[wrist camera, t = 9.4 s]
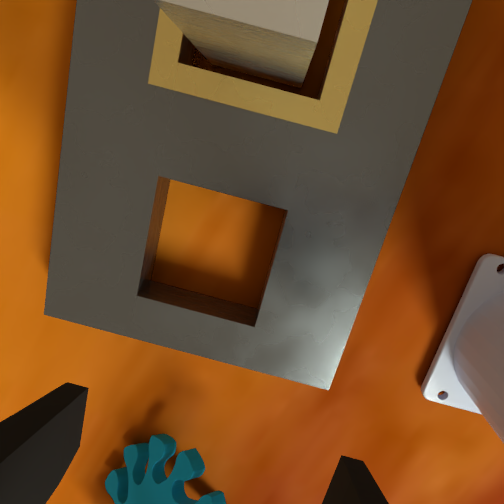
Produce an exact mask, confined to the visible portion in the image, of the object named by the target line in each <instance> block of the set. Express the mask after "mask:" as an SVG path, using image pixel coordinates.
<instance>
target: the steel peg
mask: <svg viewBox="0 0 504 504" xmlns="http://www.w3.org/2000/svg"><path fill="white" fill-rule="evenodd" d="M153 1H154V2H155V3H156V4H157V5H158V6H159V7H160V8H161V9H162V10H163V12H164V13H165V14H166V15H167V16H168V17H169V18H170V19H171V20H172V21H173V23H174V24H175V25H176V26H177V27H178V28H179V29H180V30H181V31H182V33H183V34H184V35H185V36H186V37H187V38H188V39H189V40H190V41H191V42H192V44H193V45H194V46H195V47H196V48H197V49H198V50H199V51H200V52H201V53H202V55H203V56H204V57H205V58H206V59H207V60H208V61H209V62H210V63H211V64H212V65H216V66H220V67H223V68H227V69H231V70H234V71H238V72H242V73H246V74H249V75H253V76H257V77H260V78H264V79H268V80H272V81H275V82H279V83H283V84H287V85H290V86H294V87H298V88H301V86H302V84H303V81H304V78H305V75H306V73H307V70H308V67H309V64H310V62H311V59H312V56H313V53H314V51H315V48H316V45H317V42H318V39H319V35H320V31H321V28H322V24H323V21H324V17H325V13H326V10H327V6H328V2H329V0H153Z"/></svg>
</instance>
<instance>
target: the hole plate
mask: <svg viewBox="0 0 504 504" xmlns="http://www.w3.org/2000/svg"><path fill="white" fill-rule="evenodd" d="M471 3H472V0H345V2H344V5H343V9H342V12H341V16H340V19H339V23H338V26H337V30H336V33H335V37H334V40H333V44H332V47H331V51H330V55H329V58H328V62H327V65H326V69H325V72H324V76H323V79H322V83H321V86H320V90H319V93H318V97H317V99H313V98H309V97H305V96H302V95H298V94H294V93H290V92H287V91H283V90H279V89H275V88H271V87H268V86H264V85H260V84H256V83H253V82H249V81H245V80H241V79H238V78H234V77H230V76H226V75H223V74H219V73H215V72H211V71H208V70H204V69H200V68H196V67H193V66H192V62H193V57H194V51H195V46H194V45H193V44H192V42H191V41H190V40H189V39H188V38H187V37H186V36H185V35H184V34H183V33H182V31H181V30H180V29H179V28H178V27H177V26H176V25H175V24H174V23H173V21H172V20H171V19H170V18H169V17H168V16H167V15H166V14H165V13H164V12H163V10H162V9H161V8H160V7H159V6H158V5H157V4H156V3H155V2H154V1H153V0H77V4H76V13H75V23H74V32H73V42H72V51H71V61H70V70H69V80H68V89H67V99H66V109H65V118H64V128H63V137H62V147H61V156H60V166H59V175H58V185H57V194H56V204H55V213H54V223H53V233H52V242H51V252H50V261H49V271H48V280H47V290H46V299H45V309H44V315H48V316H52V317H55V318H59V319H63V320H67V321H70V322H74V323H78V324H82V325H85V326H89V327H93V328H97V329H100V330H104V331H108V332H112V333H115V334H119V335H123V336H127V337H130V338H134V339H138V340H142V341H146V342H149V343H153V344H157V345H161V346H164V347H168V348H172V349H176V350H179V351H183V352H187V353H191V354H194V355H198V356H202V357H206V358H209V359H213V360H217V361H221V362H224V363H228V364H232V365H236V366H239V367H243V368H247V369H251V370H255V371H258V372H262V373H266V374H270V375H273V376H277V377H281V378H285V379H288V380H292V381H296V382H300V383H303V384H307V385H311V386H315V387H318V388H322V389H326V390H329V388H330V385H331V383H332V380H333V377H334V375H335V372H336V369H337V366H338V364H339V361H340V358H341V356H342V353H343V350H344V347H345V345H346V342H347V339H348V337H349V334H350V331H351V328H352V326H353V323H354V320H355V318H356V315H357V312H358V309H359V307H360V304H361V301H362V299H363V296H364V293H365V290H366V288H367V285H368V282H369V280H370V277H371V274H372V271H373V269H374V266H375V263H376V261H377V258H378V255H379V252H380V250H381V247H382V244H383V241H384V239H385V236H386V233H387V231H388V228H389V225H390V222H391V220H392V217H393V214H394V212H395V209H396V206H397V203H398V201H399V198H400V195H401V193H402V190H403V187H404V184H405V182H406V179H407V176H408V174H409V171H410V168H411V165H412V163H413V160H414V157H415V155H416V152H417V149H418V146H419V144H420V141H421V138H422V136H423V133H424V130H425V127H426V125H427V122H428V119H429V117H430V114H431V111H432V108H433V106H434V103H435V100H436V98H437V95H438V92H439V89H440V87H441V84H442V81H443V79H444V76H445V73H446V70H447V68H448V65H449V62H450V60H451V57H452V54H453V51H454V49H455V46H456V43H457V41H458V38H459V35H460V32H461V30H462V27H463V24H464V22H465V19H466V16H467V13H468V11H469V8H470V5H471ZM170 179H172V180H176V181H180V182H184V183H187V184H191V185H195V186H199V187H202V188H206V189H210V190H214V191H217V192H221V193H225V194H229V195H233V196H236V197H240V198H244V199H248V200H251V201H255V202H259V203H263V204H266V205H270V206H274V207H278V208H281V209H285V213H284V217H283V220H282V224H281V227H280V231H279V235H278V238H277V242H276V245H275V249H274V252H273V256H272V259H271V263H270V266H269V270H268V273H267V277H266V280H265V284H264V287H263V291H262V295H261V298H260V302H259V305H258V309H256V308H252V307H248V306H244V305H241V304H237V303H233V302H229V301H225V300H222V299H218V298H214V297H210V296H207V295H203V294H199V293H195V292H192V291H188V290H184V289H180V288H177V287H173V286H169V285H165V284H162V283H158V282H154V281H151V278H152V273H153V268H154V262H155V257H156V252H157V246H158V241H159V236H160V231H161V225H162V220H163V215H164V210H165V204H166V199H167V194H168V188H169V183H170Z"/></svg>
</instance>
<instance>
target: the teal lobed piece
mask: <svg viewBox="0 0 504 504" xmlns="http://www.w3.org/2000/svg"><path fill="white" fill-rule="evenodd" d="M175 451H176V441H175V440H174V439H173V438H172V437H171V436H169V435H167V434H158V435H152V436H151V438H150V441H149V445H148V443H139V444H134V445H129V446H127V447H125V448H124V460H125V463H126V466H127V467H124V468H119V469H115V470H113V471H111V473H110V474H109V475H108V477H107V479H106V481H105V487H106V490H107V492H108V493H109V494H110V496H111V497H112V499H113V501H114V503H115V504H226V501H225V497H224V493H223V492H222V491H214V492H212V493H209V494H206V495H203V496H202V497H201V498H200V499H199V500H198V501H197V500H193V499H190V498H188V497H187V495H186V494H185V491H184V481H187V480H190V479H193V478H197V477H200V476H201V475H202V474H203V473H204V471H205V465H204V462H203V460H202V458H201V456H200V454H199V453H198V451H197V450H196V448H194V449H190V450H186V451H182V452H180V453H179V454H178V456H177V458H176V462H175V466H174V469H173V471H172V473H171V474H170V476H169V477H168V478H167V477H166V475H165V472H164V466H165V463H166V461H167V460H168V459H169V458H171V457H172V456H173V455H174V453H175ZM148 458H149V462H148V467H147V471H146V474H145V466H146V463H147V461H148Z"/></svg>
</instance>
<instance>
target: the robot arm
mask: <svg viewBox="0 0 504 504" xmlns="http://www.w3.org/2000/svg"><path fill="white" fill-rule="evenodd" d="M500 264H504V257H502V256H499V255H495V254H485V255H483V256H482V257H480V259H479V260H478V262H477V264H476V266H475V268H474V270H473V273H472V275H471V277H470V279H469V282H468V284H467V286H466V288H465V290H464V293H463V295H462V297H461V299H460V302H459V304H458V306H457V308H456V310H455V313H454V315H453V317H452V319H451V322H450V324H449V326H448V328H447V330H446V333H445V335H444V337H443V339H442V342H441V344H440V346H439V348H438V350H437V353H436V355H435V357H434V359H433V362H432V364H431V366H430V368H429V370H428V373H427V375H426V377H425V379H424V382H423V384H422V386H421V392H422V394H423V396H424V397H425V398H426V399H428V400H430V401H434V402H438V403H441V404H445V405H449V406H453V407H456V408H460V409H464V410H468V411H471V412H475V413H479V414H482V415H483V416H484V417H485V419H486V420H487V421H488V423H489V424H490V425H491V427H492V428H493V429H494V431H495V432H496V434H497V435H498V436H499V438H500V439H501V440H502V442H503V443H504V268H503V269H502V270H501V271H499V272H497V267H498V266H499V265H500ZM441 391H445V392H444V393H443V394H442V395H438V393H439V392H441ZM87 394H88V388H87V387H83V386H79V385H75V384H72V383H68V382H67V383H65V384H63V385H61V386H60V387H58V388H56V389H55V390H53V391H51V392H50V393H48V394H47V395H45V396H43V397H42V398H40V399H38V400H37V401H35V402H33V403H32V404H30V405H29V406H27V407H25V408H24V409H22V410H20V411H19V412H17V413H15V414H14V415H12V416H10V417H8V418H7V419H5V420H3V421H1V422H0V504H46V502H47V501H48V499H49V498H50V496H51V495H52V493H53V492H54V491H55V489H56V488H57V486H58V485H59V483H60V481H61V479H62V478H63V476H64V474H65V472H66V471H67V469H68V467H69V465H70V463H71V461H72V460H73V458H74V456H75V454H76V452H77V450H78V448H79V447H80V440H81V434H82V427H83V421H84V414H85V407H86V401H87ZM322 504H389V503H388V502H387V500H386V498H385V497H384V495H383V493H382V492H381V490H380V488H379V487H378V485H377V483H376V482H375V480H374V478H373V477H372V475H371V473H370V472H369V470H368V468H367V467H366V465H365V463H364V462H363V461H361V460H357V459H353V458H350V457H346V456H342V455H341V458H340V460H339V463H338V465H337V468H336V470H335V473H334V475H333V478H332V480H331V483H330V485H329V488H328V490H327V493H326V495H325V498H324V500H323V503H322Z"/></svg>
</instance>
